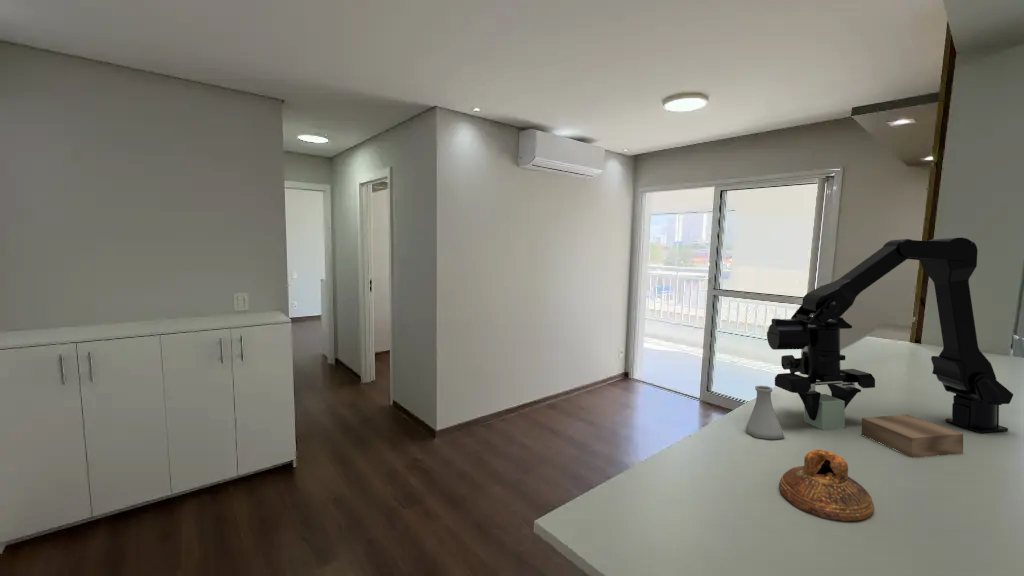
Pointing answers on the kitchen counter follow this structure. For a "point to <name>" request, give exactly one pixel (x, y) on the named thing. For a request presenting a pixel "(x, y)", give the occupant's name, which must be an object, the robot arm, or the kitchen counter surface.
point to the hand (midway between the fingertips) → (824, 418)
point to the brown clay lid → (826, 488)
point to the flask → (764, 417)
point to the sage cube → (828, 413)
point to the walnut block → (913, 435)
